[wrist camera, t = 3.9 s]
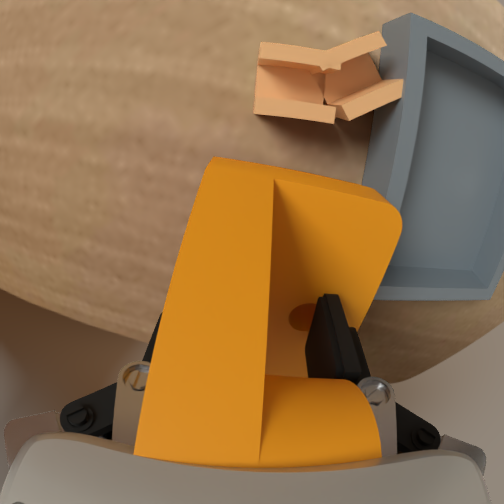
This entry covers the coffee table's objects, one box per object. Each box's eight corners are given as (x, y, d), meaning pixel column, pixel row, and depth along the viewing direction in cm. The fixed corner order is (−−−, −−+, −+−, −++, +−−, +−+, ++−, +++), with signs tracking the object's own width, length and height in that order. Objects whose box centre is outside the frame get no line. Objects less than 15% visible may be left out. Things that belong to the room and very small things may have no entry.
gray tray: (515, 88, 13) (547, 94, 10) (468, 275, 20) (489, 299, 17) (382, 24, 12) (410, 12, 9) (342, 267, 20) (356, 299, 17)
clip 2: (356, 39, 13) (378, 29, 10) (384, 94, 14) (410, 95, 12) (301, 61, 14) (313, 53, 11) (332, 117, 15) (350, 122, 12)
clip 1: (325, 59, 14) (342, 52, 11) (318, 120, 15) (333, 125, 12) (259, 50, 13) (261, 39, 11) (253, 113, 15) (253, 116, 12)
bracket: (316, 358, 17) (343, 553, 7) (195, 344, 17) (160, 551, 6) (383, 186, 12) (581, 428, 2) (216, 152, 12) (38, 500, 1)
